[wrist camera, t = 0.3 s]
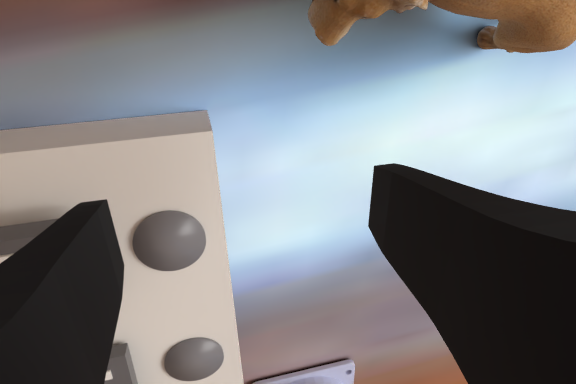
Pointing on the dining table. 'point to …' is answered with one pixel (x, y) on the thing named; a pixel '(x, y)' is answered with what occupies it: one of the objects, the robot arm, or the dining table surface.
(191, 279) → the beige switch box
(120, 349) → the rocker
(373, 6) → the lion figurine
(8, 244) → the rocker
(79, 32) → the dining table surface
